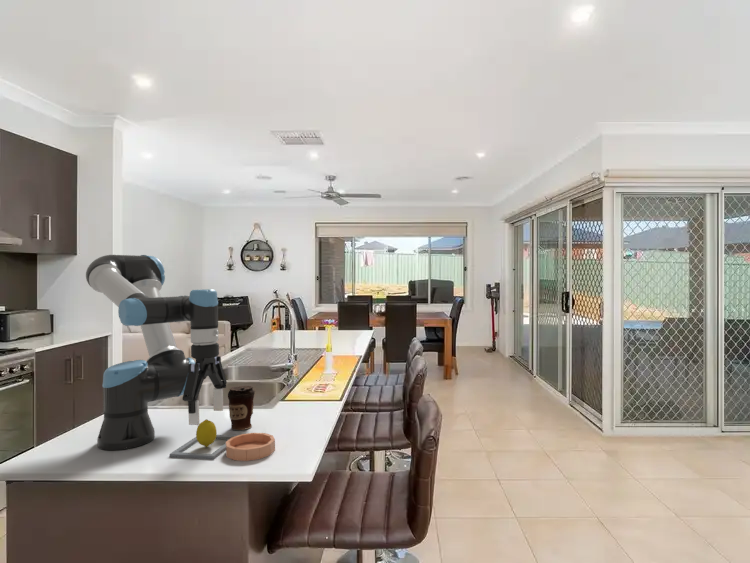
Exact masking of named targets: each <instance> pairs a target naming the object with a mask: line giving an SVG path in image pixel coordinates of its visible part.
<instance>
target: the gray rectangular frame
mask: <svg viewBox="0 0 750 563" xmlns="http://www.w3.org/2000/svg"><path fill="white" fill-rule="evenodd" d="M235 436H236V435H232V434H229V435H228V434H217V435H216V439H215V440H222V441H223V440H225V441H226V440H227V441H228V440H229V439H230V438H232V437H235ZM196 443H199V442H198V441H197V438H196V436H195V437H194V438H192V439H190V440H188V441H187V442H185V443H184V444H183V445H181V446H180V447H178V448H176V449H175V450H173V451H172V452H170V453H169V458H181V457H183V459H185V458H186V459H202V460H204V459H205V460H215V459H216V458H218V457H219V456H220V455H222V453H224V452H226V442H225V443H223V445H221V446H220V447H219V448H218V449H216V450H214V451H213V452H211V453H201V452H185V451H186V450H187V449H189V448H190V447H191V446H193V445H195V444H196Z"/></svg>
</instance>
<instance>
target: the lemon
mask: <svg viewBox="0 0 750 563" xmlns="http://www.w3.org/2000/svg"><path fill="white" fill-rule="evenodd" d="M199 423H200V424H199V425H197V429H196V431H195V432H196V434H195V437H196V438H197V441H198V442H197V443H198V444H199V445H201V446H204V448H208V447H210V445H212V444H213V443H214V442H215V440H217V439H216V435H218V434H217V427H216V424H215V423H214V422H213V421H211V420H210V419H209V420H208V419H205V420H203V421H202V422H199Z"/></svg>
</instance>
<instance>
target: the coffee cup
mask: <svg viewBox="0 0 750 563" xmlns="http://www.w3.org/2000/svg"><path fill="white" fill-rule="evenodd" d="M255 392H256V391H255V389H254V387H253V386H251V385H239V386H233V387H230V388H229V390H228V392H227V398H228V412H229V418H230V422H231V425H230V427H231V430H235V431H240V430H241V431H242V430H248V429H251V428H252V427H253V425H252V423H251V419H252V416H253V414H254V397H255Z"/></svg>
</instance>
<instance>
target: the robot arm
mask: <svg viewBox="0 0 750 563" xmlns="http://www.w3.org/2000/svg"><path fill="white" fill-rule="evenodd" d="M165 273H166V272H165V268H164V265H163V263H162V261H161V260H160V259H159V258H158V257H156V256H153V255H146V254H141V255H131V254H130V255H129V254H128V255H127V254H126V255H125V254H108V255H107V254H105V255H102V256H100V257H98V258H96V259H94V260H93V261H92V262H91V263H90V264H89V265H88V266H87V269H86V272H85V279H86V282H87V283H88V285H89V287H91V289H93V290H94V291H96V292H98V293H102V294H103V295H104V296H105V297H106V298H108V300H110V301H111V302H112V303H113V304H114V305H115V306H116V307H118V308H117V309H118V314H117V315H118V318H119V320H120V324H122V325H123V326H127V327H128V326H130V327H133V326H134V327H139V326H140V329H141V332H142V335H143V338H144V342H145V346H146V350H147V353H148V358H147V360H144V359H136V360H128V361H124V362H119V363H117V364H116V363H115V364H114V365H111V366H109V367H108V368H106V369H105V371H103V376H102V389H103V390H102V391H103V392H102V393H103V395H102V396H103V399H102V400H103V420H102V423H101V426H100V429H99V432H98V433H99V434H98V435H97V439H96V440H97V442H96V443H97V448H99V449H100V450H102V451H103V450H105V451H120V450H121V451H122V450H128V449H133V448H137V447H141V446H143V445H146V444H148V443H150V442H152V441H153V440H154V439H155V435H156V434H155V433H156V432H155V428H154V426H153V422H152V421H151V417H150V415H149V407H148V405H149V403H151V402H155V401H156V402H157V401H161V400H167V399H171V398H178V397H181V396H182V401H184V402H187V407H188V408H187V410H188V411H187V412H188V425H190V426H198V425H199V424H200V423H201V422H200V401H199V399H198V398H199V395H200V392H201V388H202V386H203V383H204V380H206V379H207V377H208V378H209V380H210V381H211V383H212V385H213V387H214V388H213V389H212V393H213V394H212V396H213V397H212V399H213V411H216V412H217V411H218V412H222V411H224V389H226V388H227V383H228V382H227V381H228V380H227V377H226V375H225V372H224V368H223V365H222V358H221V356H220V344H219V343H218V341H219V335H220V332H219V301H218V292H217V290H215V289H214V288H212V289H211V288H210V289H192V290H190V292H189V296H188V295H179V296H164V297H163V296H161V294H160V291H162V286H163V285H164V283H165V280H166V276H165ZM181 322H189V323H190V326H189V327H190V328H189V329H190V343H192V344H191V345H190V353H191V354H190V355H191V356H190V357H186V354H185V353H184V350H183V349H180V348H178V347H177V344H176V341H175V338H174V333H173V331H172V328H171V325H170V324H171V323H181ZM194 359H195V360H194Z"/></svg>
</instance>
